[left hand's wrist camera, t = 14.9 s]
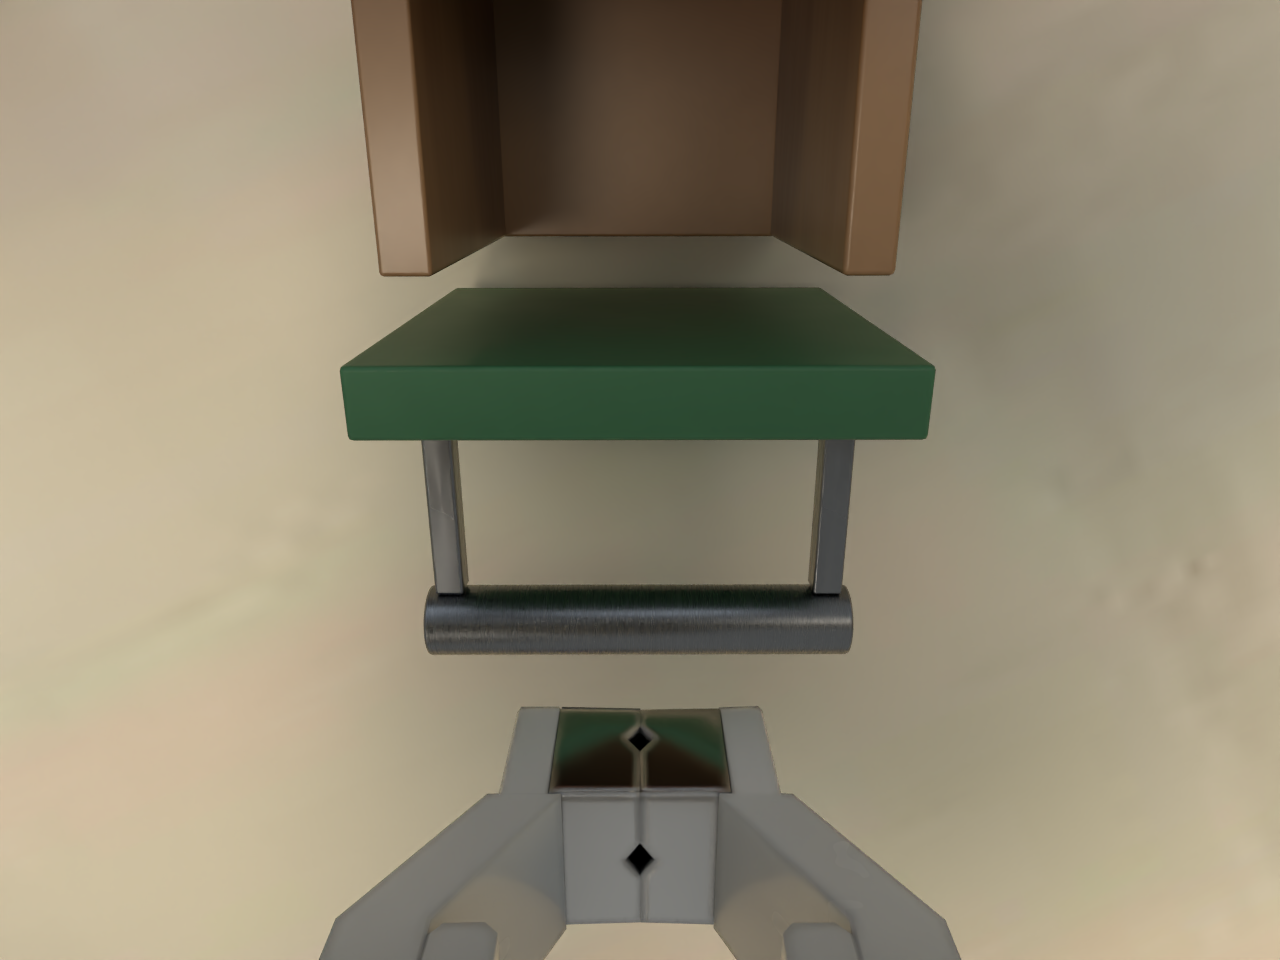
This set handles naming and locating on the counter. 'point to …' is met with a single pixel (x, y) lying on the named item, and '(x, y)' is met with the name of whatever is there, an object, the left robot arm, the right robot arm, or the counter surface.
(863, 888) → the left robot arm
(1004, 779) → the counter surface
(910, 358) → the drawer
